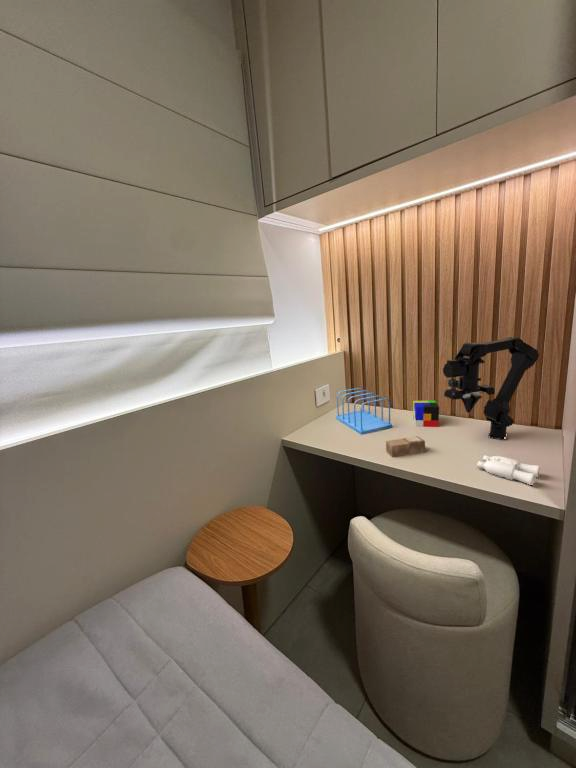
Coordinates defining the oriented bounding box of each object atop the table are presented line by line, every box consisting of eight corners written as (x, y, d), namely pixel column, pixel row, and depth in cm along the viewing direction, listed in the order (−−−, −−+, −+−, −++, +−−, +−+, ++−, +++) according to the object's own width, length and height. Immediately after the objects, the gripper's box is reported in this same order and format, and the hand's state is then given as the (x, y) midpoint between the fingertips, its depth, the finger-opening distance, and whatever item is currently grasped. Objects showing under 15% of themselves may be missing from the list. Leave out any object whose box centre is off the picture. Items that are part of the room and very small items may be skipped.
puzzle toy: (415, 426, 153) (416, 406, 151) (413, 419, 163) (413, 400, 160) (438, 427, 151) (439, 407, 149) (434, 419, 160) (434, 400, 158)
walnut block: (417, 435, 132) (386, 440, 129) (425, 440, 127) (392, 445, 125) (417, 447, 133) (386, 452, 131) (424, 452, 128) (392, 457, 126)
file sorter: (335, 419, 172) (334, 391, 169) (363, 413, 178) (363, 386, 174) (361, 435, 149) (360, 403, 145) (392, 427, 155) (392, 397, 151)
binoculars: (531, 489, 100) (533, 475, 99) (475, 472, 112) (476, 460, 110) (539, 475, 106) (541, 463, 105) (485, 461, 118) (486, 449, 117)
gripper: (475, 368, 136) (473, 403, 140) (436, 373, 133) (435, 409, 137) (497, 373, 126) (494, 411, 129) (454, 379, 123) (452, 417, 126)
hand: (468, 412), depth 131 cm, fingers closed
